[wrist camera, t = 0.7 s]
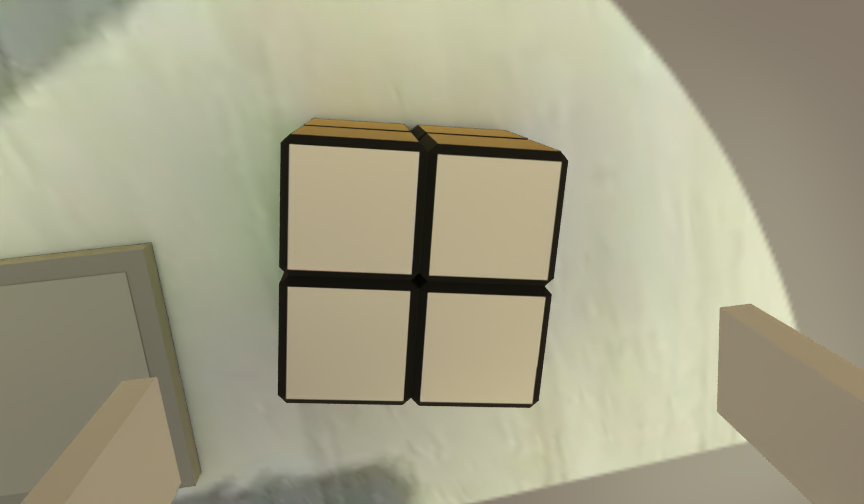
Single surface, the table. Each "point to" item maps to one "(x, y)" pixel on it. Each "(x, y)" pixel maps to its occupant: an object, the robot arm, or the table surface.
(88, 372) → the trivet
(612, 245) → the table surface
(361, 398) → the puzzle cube
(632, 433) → the table surface
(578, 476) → the table surface
